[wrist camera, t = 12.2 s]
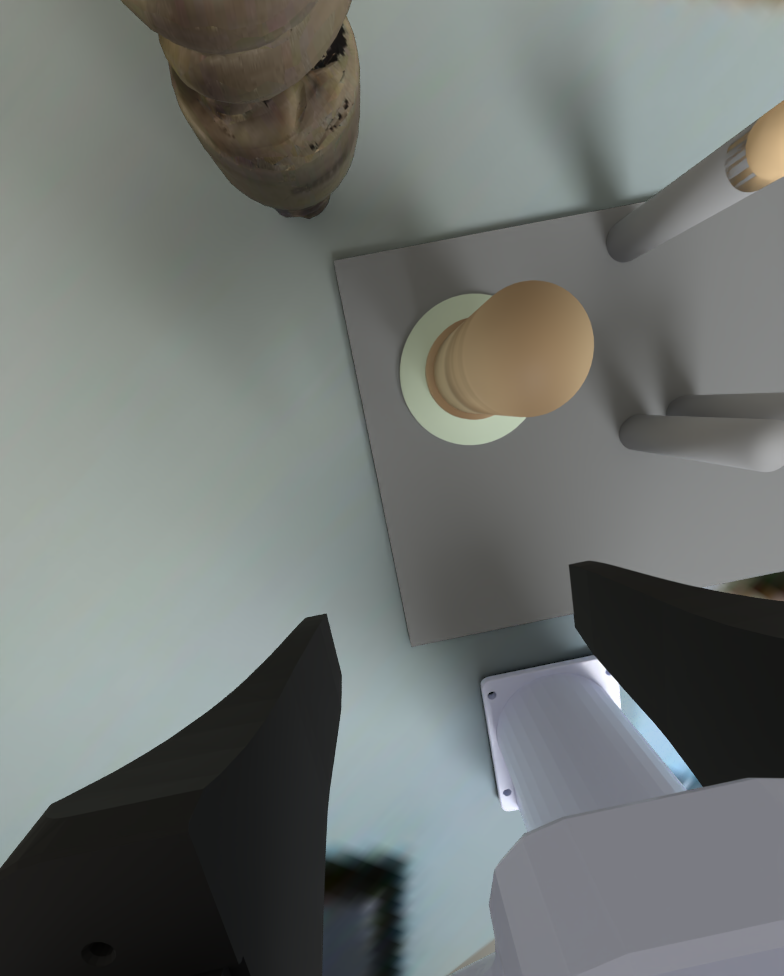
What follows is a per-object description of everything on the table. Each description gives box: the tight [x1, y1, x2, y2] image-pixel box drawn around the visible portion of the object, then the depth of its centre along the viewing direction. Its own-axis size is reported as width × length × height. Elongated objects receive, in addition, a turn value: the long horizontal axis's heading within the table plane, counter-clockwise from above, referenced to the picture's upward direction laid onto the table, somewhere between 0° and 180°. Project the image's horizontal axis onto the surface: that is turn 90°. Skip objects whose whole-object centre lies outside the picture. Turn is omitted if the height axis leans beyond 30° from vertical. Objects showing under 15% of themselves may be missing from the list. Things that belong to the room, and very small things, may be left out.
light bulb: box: [121, 0, 360, 219], centre depth 10 cm, size 6×6×15 cm
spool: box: [425, 280, 594, 420], centre depth 16 cm, size 5×5×7 cm
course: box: [334, 101, 784, 647], centre depth 17 cm, size 20×27×8 cm
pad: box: [400, 294, 526, 445], centre depth 19 cm, size 7×7×1 cm
